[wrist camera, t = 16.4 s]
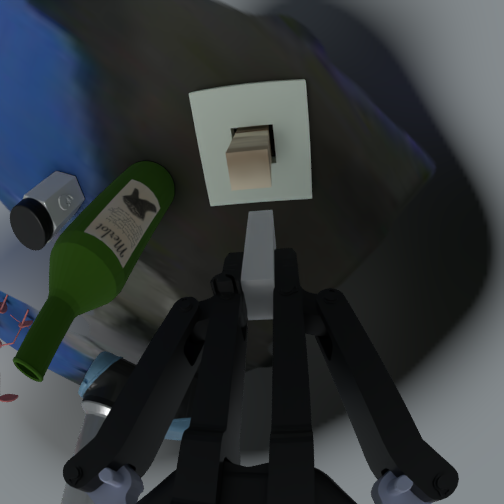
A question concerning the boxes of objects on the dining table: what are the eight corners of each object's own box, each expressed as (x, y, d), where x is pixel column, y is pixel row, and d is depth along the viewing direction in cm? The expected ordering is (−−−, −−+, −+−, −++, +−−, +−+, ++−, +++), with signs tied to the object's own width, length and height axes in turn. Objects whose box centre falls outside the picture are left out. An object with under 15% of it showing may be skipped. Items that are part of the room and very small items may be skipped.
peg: (271, 152, 38) (272, 187, 28) (241, 155, 38) (231, 191, 29) (268, 124, 36) (268, 148, 26) (237, 127, 36) (224, 152, 26)
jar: (91, 209, 45) (54, 250, 35) (61, 217, 46) (26, 255, 36) (72, 163, 39) (28, 197, 30) (43, 176, 41) (1, 209, 31)
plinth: (309, 189, 41) (311, 198, 38) (214, 196, 42) (210, 206, 40) (302, 79, 31) (305, 80, 29) (194, 91, 33) (188, 93, 31)
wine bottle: (187, 185, 42) (85, 393, 16) (154, 222, 46) (62, 406, 20) (142, 148, 38) (-17, 318, 12) (114, 188, 42) (-13, 353, 16)
